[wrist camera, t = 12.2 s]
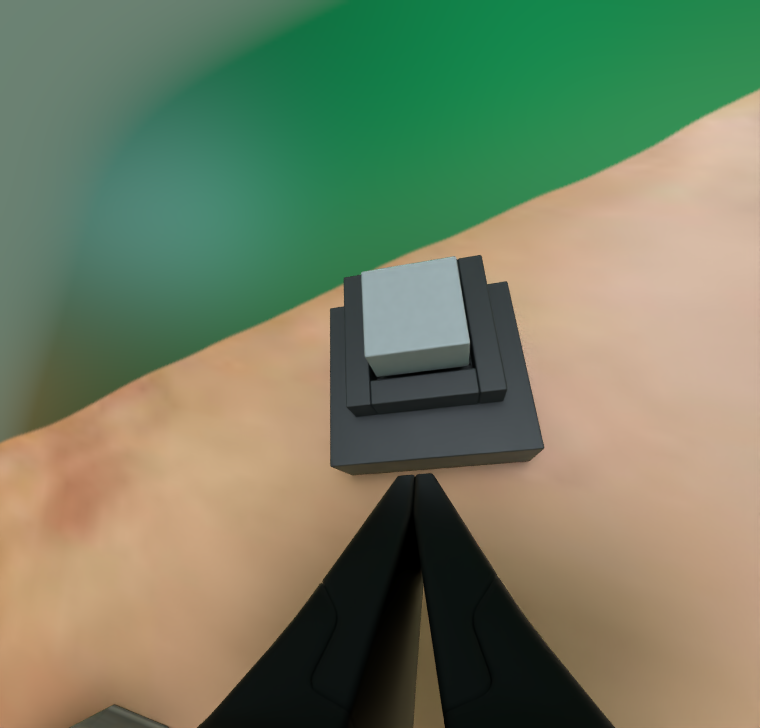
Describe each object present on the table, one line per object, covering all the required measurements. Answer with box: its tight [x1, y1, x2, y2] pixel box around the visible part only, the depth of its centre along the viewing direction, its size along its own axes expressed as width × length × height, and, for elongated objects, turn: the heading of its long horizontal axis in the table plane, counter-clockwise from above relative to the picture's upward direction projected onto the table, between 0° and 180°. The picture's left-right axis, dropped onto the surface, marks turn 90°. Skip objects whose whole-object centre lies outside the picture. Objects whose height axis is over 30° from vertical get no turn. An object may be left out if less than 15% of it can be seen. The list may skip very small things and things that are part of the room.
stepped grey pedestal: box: [330, 255, 544, 475], centre depth 20 cm, size 10×10×6 cm
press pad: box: [361, 256, 470, 377], centre depth 17 cm, size 4×4×2 cm
